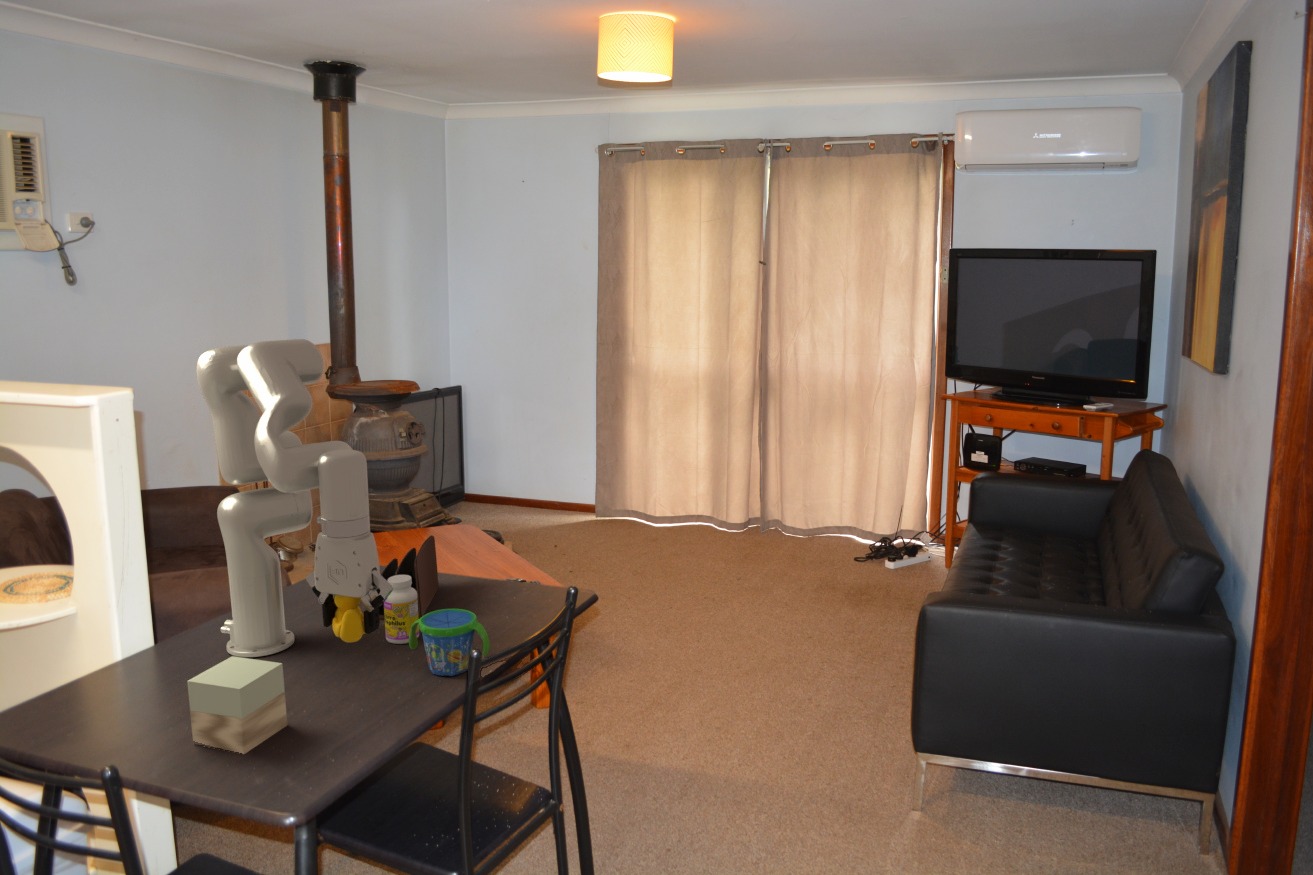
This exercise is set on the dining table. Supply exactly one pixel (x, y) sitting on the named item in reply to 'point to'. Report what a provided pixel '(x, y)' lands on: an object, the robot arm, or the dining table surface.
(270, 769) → the dining table surface
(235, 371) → the robot arm
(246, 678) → the tower top
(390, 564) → the letter holder
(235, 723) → the tower base
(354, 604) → the duckling
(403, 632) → the supplement bottle
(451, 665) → the snack cup
